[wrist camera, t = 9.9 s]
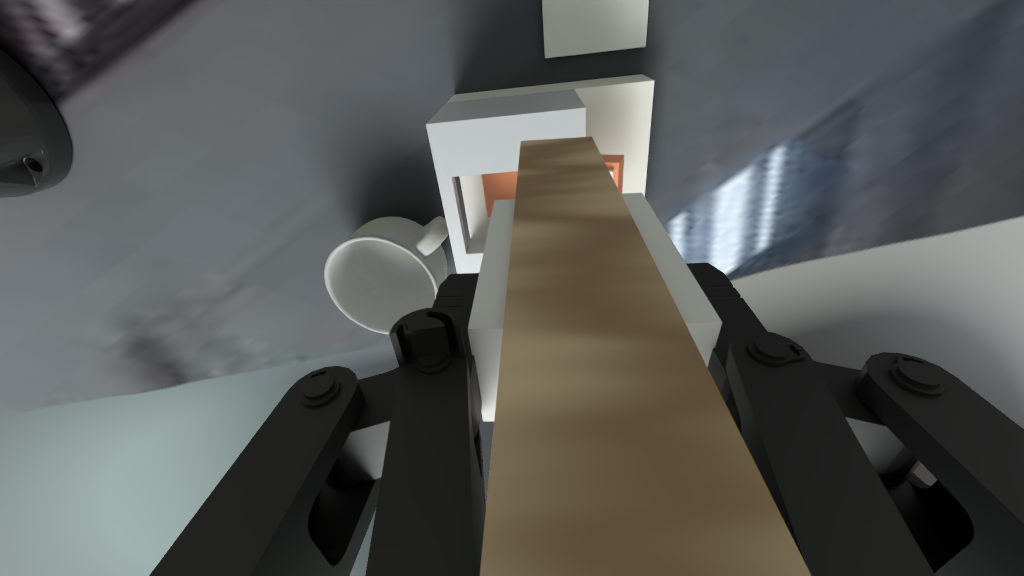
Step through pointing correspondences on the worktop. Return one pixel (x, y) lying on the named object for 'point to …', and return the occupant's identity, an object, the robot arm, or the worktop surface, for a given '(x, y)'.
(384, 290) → the teacup
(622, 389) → the oak stick
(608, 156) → the breaker rocker
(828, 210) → the worktop surface
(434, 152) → the white boxy piece
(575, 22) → the pad
